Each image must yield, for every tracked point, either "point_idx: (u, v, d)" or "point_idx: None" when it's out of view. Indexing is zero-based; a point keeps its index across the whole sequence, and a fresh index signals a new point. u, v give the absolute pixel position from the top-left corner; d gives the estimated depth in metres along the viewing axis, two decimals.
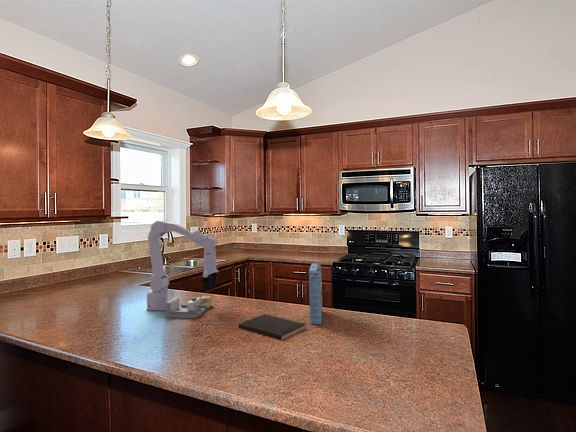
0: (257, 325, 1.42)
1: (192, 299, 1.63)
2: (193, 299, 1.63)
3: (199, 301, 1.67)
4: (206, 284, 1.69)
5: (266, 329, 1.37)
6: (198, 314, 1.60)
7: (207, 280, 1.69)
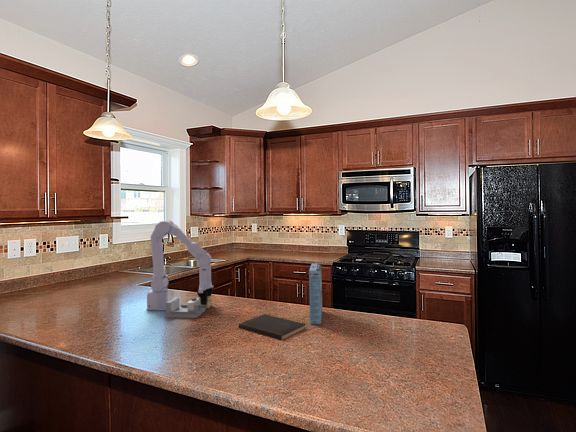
0: (257, 325, 1.42)
1: (192, 299, 1.63)
2: (193, 299, 1.63)
3: (199, 301, 1.67)
4: (202, 299, 1.73)
5: (266, 329, 1.37)
6: (198, 314, 1.60)
7: (203, 295, 1.73)
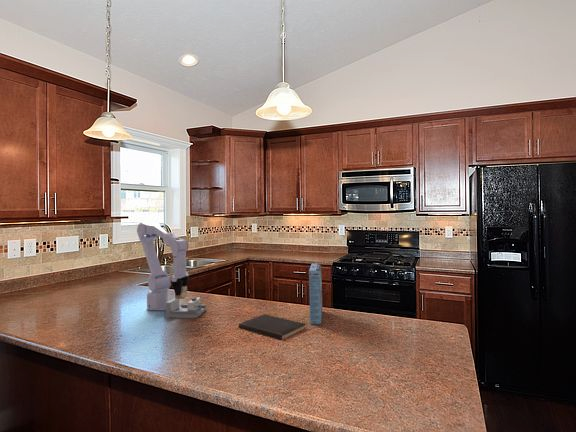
0: (257, 325, 1.42)
1: (192, 299, 1.63)
2: (193, 299, 1.63)
3: (199, 301, 1.67)
4: (176, 288, 1.62)
5: (266, 329, 1.37)
6: (198, 314, 1.60)
7: (177, 284, 1.62)
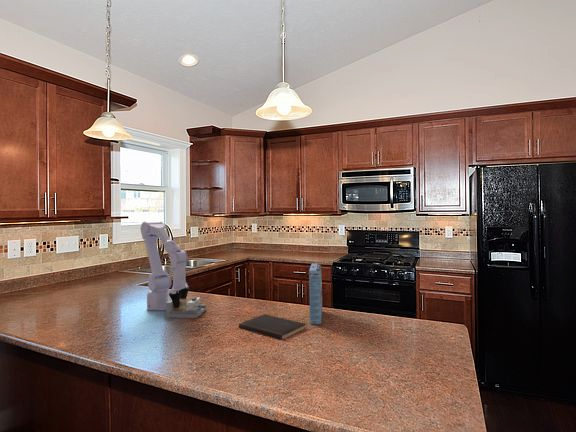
0: (257, 325, 1.42)
1: (192, 299, 1.63)
2: (193, 299, 1.63)
3: (199, 301, 1.67)
4: (175, 301, 1.60)
5: (266, 329, 1.37)
6: (198, 314, 1.60)
7: (176, 297, 1.60)
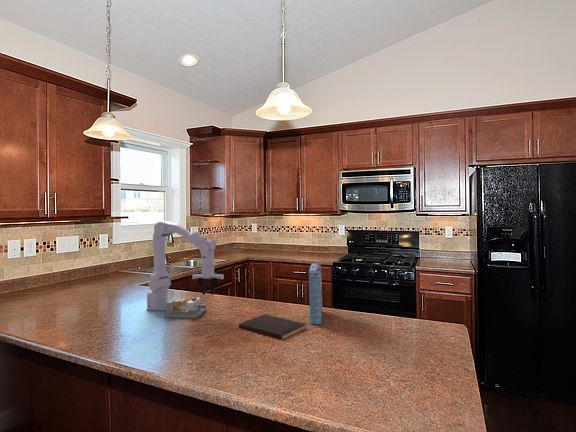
0: (257, 325, 1.42)
1: (192, 299, 1.63)
2: (193, 299, 1.63)
3: (199, 301, 1.67)
4: None
5: (266, 329, 1.37)
6: (198, 314, 1.60)
7: None
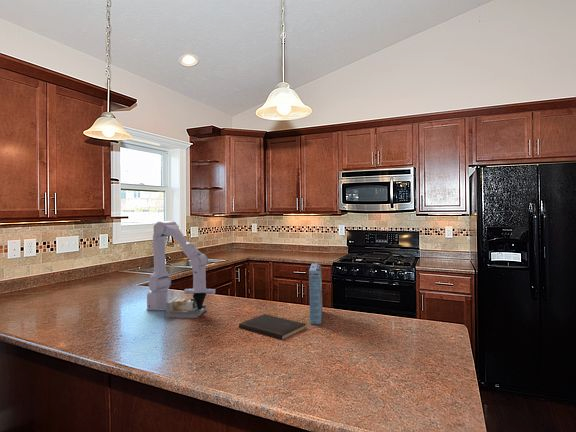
0: (257, 325, 1.42)
1: (191, 299, 1.63)
2: (192, 299, 1.63)
3: None
4: None
5: (266, 329, 1.37)
6: (198, 314, 1.60)
7: None
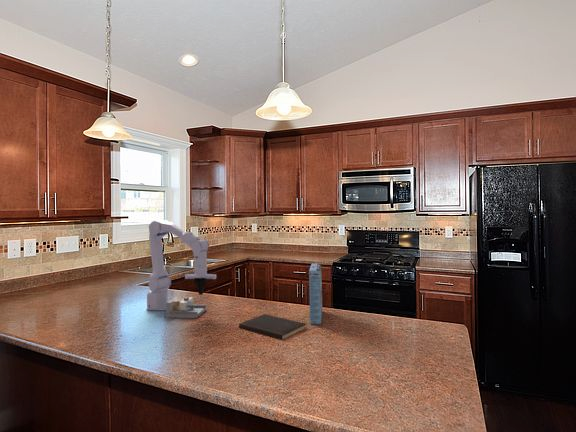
0: (257, 325, 1.42)
1: (184, 299, 1.63)
2: (185, 299, 1.63)
3: (192, 301, 1.67)
4: None
5: (267, 329, 1.37)
6: (198, 314, 1.60)
7: None
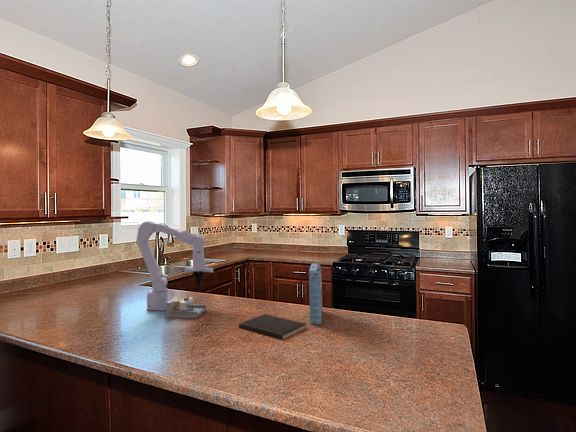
0: (257, 325, 1.42)
1: (184, 299, 1.63)
2: (185, 299, 1.63)
3: (192, 301, 1.67)
4: None
5: (267, 329, 1.37)
6: (198, 314, 1.60)
7: None
